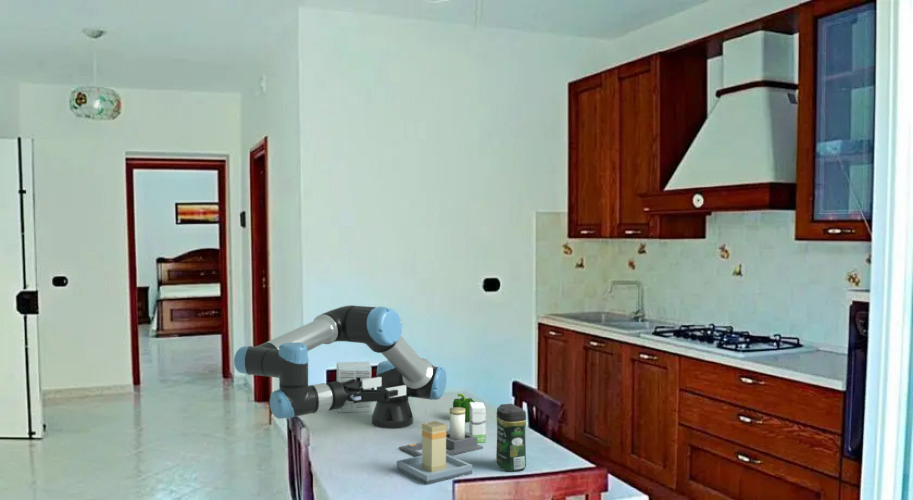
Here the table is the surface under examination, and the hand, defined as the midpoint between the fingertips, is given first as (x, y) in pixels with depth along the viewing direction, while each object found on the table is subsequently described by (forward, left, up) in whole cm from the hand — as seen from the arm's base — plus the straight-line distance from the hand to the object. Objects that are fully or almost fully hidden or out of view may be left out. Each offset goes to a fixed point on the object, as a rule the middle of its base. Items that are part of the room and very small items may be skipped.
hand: (393, 385), depth 209 cm
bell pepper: (-34, +52, -25) cm, 67 cm away
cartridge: (-10, +31, -25) cm, 41 cm away
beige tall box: (+7, +10, -24) cm, 27 cm away
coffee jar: (+17, +31, -25) cm, 44 cm away
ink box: (-12, +41, -25) cm, 49 cm away
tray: (+7, +10, -25) cm, 28 cm away
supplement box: (-74, +27, -25) cm, 82 cm away
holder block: (-10, +24, -25) cm, 36 cm away
